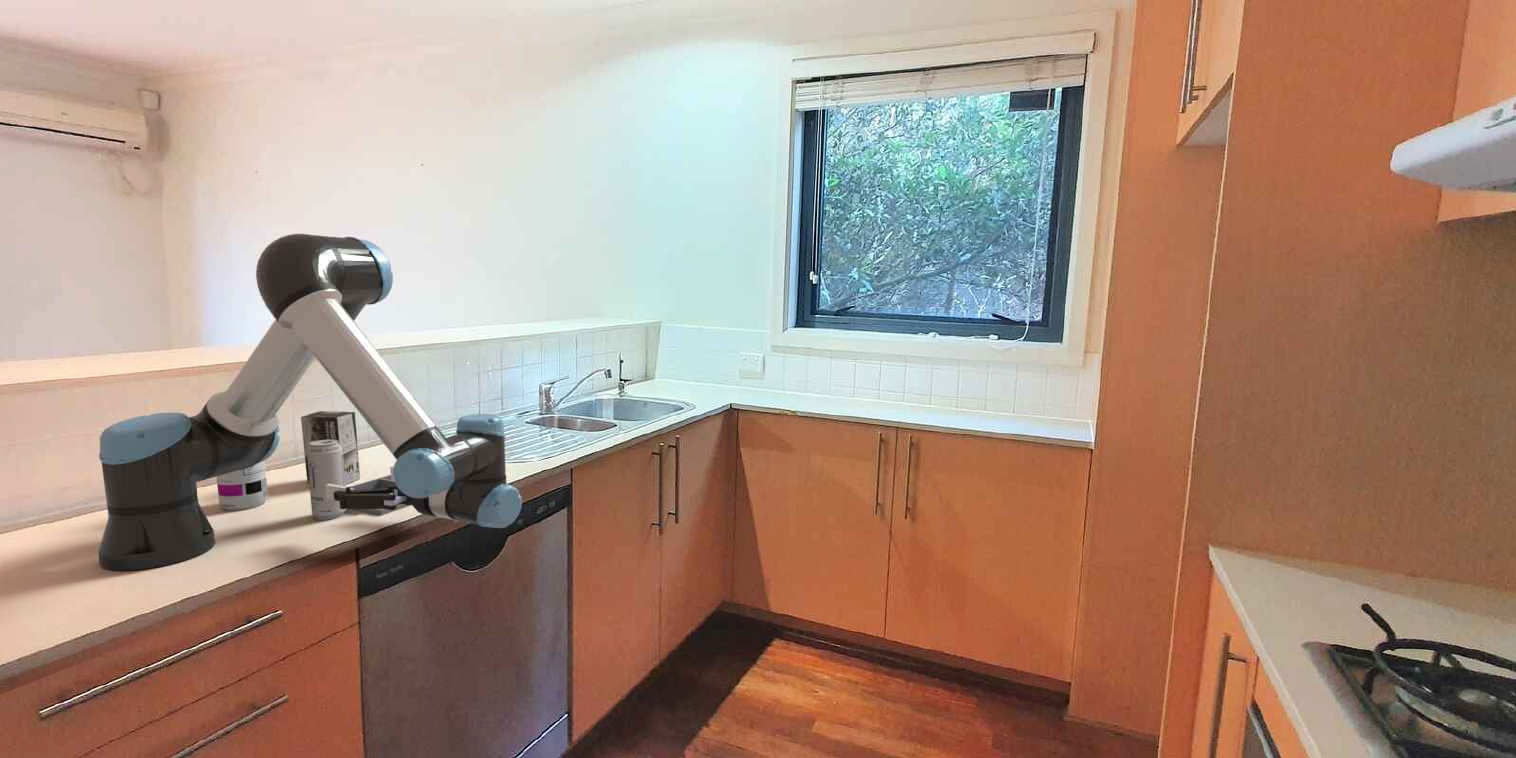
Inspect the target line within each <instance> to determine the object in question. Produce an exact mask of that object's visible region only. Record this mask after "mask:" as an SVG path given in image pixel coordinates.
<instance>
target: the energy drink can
mask: <svg viewBox="0 0 1516 758" xmlns="http://www.w3.org/2000/svg"><path fill="white" fill-rule="evenodd" d="M307 460H308V472H309V484H310V485H309V494H310V505H311V506H310V507H311V515H312V516H315V519H316V520H320V521H321V520H323V521H326V520H333V519H337V518H340V517H343V516H344V515H345V512H346V511H347V510H348V509H340V502H339V501H334V500H329V499H327V497H326V485H327V484H334V485H339V486H345V487H346V485H345V474H344V461H343V449H342V447H341V446H340V445H339V443H338V440H319V441H314V442H311V443H310V447H309V449H308V451H307Z"/></svg>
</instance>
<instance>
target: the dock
mask: <svg viewBox="0 0 1516 758" xmlns="http://www.w3.org/2000/svg"><path fill="white" fill-rule="evenodd" d="M395 482H396V481H395V480H391V474H389V475H385V476H382V477H379V478H375V479H372V480H368V481H365V482H361V483H358V484H357V483H356V484H354V485H351V486H349V487H350V488H354V490H366V489H380V488H389V487H390V486H391V485H396V483H395ZM397 490H398V489H394V495H396V497H397V496H398V494H397ZM409 506H411V505H405V504H399V505H396V509H394V510H388V509H352V510H355V511H359V512H365V513H369V514H373V515H378V516H384V515H386V514H389V513H391V512H395V511H398V510H400V509H403V508H407V507H409Z"/></svg>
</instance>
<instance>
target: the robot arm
mask: <svg viewBox="0 0 1516 758" xmlns="http://www.w3.org/2000/svg"><path fill="white" fill-rule="evenodd" d="M255 277H256V279H255V280H256V285H257V289H258V291H259V296H260V297H261V299H262V300H263V302H264V305H265V306H266V308H267V310H268V311H269V312H270V313H271V315H272V317H273V318H274V319H275V320H274V321H273V323H272V324H271V325H270V327H269V328H268V330H267V332H266V333H265V334H264V336H263V337H262V339H260V341H259V342H258V344H257V345H256V347H255V348H254V350H253V352H252V353H251V354H250V356H249V357H248V359H247V361H246V362H245V364H244V365H243V366H242V368H241V369H240V371H239V372H238V373H237V375H236V377H235V378H234V379H233V381H232V382H231V384H230V385H229V387H227V388H228V389H227V390H226V391H221V392H220V391H219V392H217V393H214V394H213V395H211V396H210V397H209V398H208V400H207V402H206V403H205V405H204V406H203V407H202V409H201V410H200V412H199V413H197V414H196V415H193V416H188V415H187V414H185V413H182V412H159V413H154V414H153V413H152V414H150V415H141V416H135V417H132V418H128V419H125V420H121V421H118V422H117V423H113V424H112V425H110V426H108V427H107V428H105V429H104V430H103V431H102V433H101V435H100V437H99V454H98V459H99V461H100V462H101V467H102V469H101V470H102V476H103V484H104V492H105V500H106V506H107V507H106V508H107V515H108V516H107V517H108V518H107V521H106V525H105V529H104V532H103V535H102V538H101V540H100V545H99V548H98V553H97V554H98V563H99V566H100V568H102V569H106V570H108V571H109V570H111V571H135V570H136V571H137V570H145V569H152V568H158V567H162V566H167V565H171V564H176V563H180V562H183V561H186V560H189V559H192V558H195V557H198V556H199V555H202V554H204V553H206V552H208V551H209V550H210V549H211V550H212V549H213V548H214V546H215V544H216V536H215V531H214V528H213V527H212V525H211V523H210V521H209V520H208V517H207V516H206V514H205V512H204V511H203V509H202V506H201V505H200V503H199V498H198V487H197V483H199V482H202V481H206V480H209V479H212V478H217V477H216V476H220V475H223V474H227V473H230V472H234V471H238V470H243V469H247V468H250V467H252V466H254V465H255V464H258V463H261V462H263V461H264V460H265V461H266V460H267V459H269V458H270V457H271V456H272V455H273V454H274V453H275V451H276V449H277V447H278V445H279V441H280V435H278V433H280V432H281V431H280V425H279V421H280V420H279V417H278V415H277V413H278V411H279V410H280V409H281V407H282V406H283V405H284V403H285V401H286V400H287V399H288V397H289V396H290V395H291V393H292V392H293V390H294V389H295V388H296V386H297V385H298V383H300V380H301V379H302V378H303V376H304V375H305V374H306V373H307V371H308V369H309V368H310V366H311V365H312V364H313V363H314V361H315V360H317V361H318V363H319V364H320V365H321V366H322V367H323V370H325V371H326V373H327V374H328V375H329V376H330V378H331V379H332V380H333V381H334V383H335V384H336V385H337V386H338V388H339V389H340V390H341V391H342V392H343V394H344V395H345V397H346V398H347V399H348V400H349V402H350V403H351V404H352V405H353V407H354V408H355V409H356V410H357V411H358V413H359V414H360V415H361V416H362V418H363V419H364V420H365V421H366V424H367V425H369V427H370V428H371V429H372V431H373V432H374V433H375V434H376V435H377V437H378V438H379V439H380V441H381V442H382V443H383V444H384V446H385V447H386V448H387V449H388V451H389V452H390V453H391V455H393V457H394V458H395V459H396V461H395V463H394V464H393V465H392V466H390V475H391V480H395V481H396V482H395V483H396V485H391V486H390V487H389V488H380V489H366V490H354V488H350V486H346V485H345V486H339V485H334V484H327V485H326V497H327V499H329V500H334V501H339V502H340V509H347V510H353V509H388V510H394V509H396V505H399V504H405V505H410V506H412V507H413V508H414V509H415V511H416V512H418V513H419V514H421V515H425V516H429V517H430V516H431V517H438V518H442V519H446V520H447V519H448V520H451V521H453V522H454V523H458V522H463V523H468V524H472V525H477V526H480V527H482V528H493V529H494V528H495V529H497V528H498V529H503V528H507V527H509V526H510V525H512V524H513V523H514V522H515V521H516V519H517V518H518V516H519V515H520V513H521V509H522V503H523V502H522V496H521V494H520V492H519V490H518V489H517V488H516V487H515V486H514V485H511V484H508V483H507V482H508V481H507V475H506V440H505V439H506V435H505V431H504V430H505V429H504V420H503V419H502V417H500V416H499V415H497V414H492V413H477V414H476V413H475V414H474V413H473V414H469V415H468V414H466V415H464V416H461V417H459V418H458V421H457V422H456V430H455V433H456V434H453V435H451V436H449V437H446V436H445V435H444V433H443V432H442V431H441V429H439V427H438V426H437V425H436V423H434V421H433V420H432V418H431V417H430V416H429V415H428V414H427V412H426V411H425V409H423V407H422V406H421V404H420V403H419V402H418V401H417V399H416V398H415V397H414V395H412V393H411V392H410V390H409V389H408V388H407V387H406V385H405V384H404V383H403V382H402V381H401V379H400V378H399V377H398V375H397V374H396V373H395V371H394V370H393V369H392V368H391V366H390V365H389V364H388V363H387V361H386V360H385V359H384V358H383V356H382V355H381V354H380V352H379V350H377V349H376V348H375V346H374V345H373V343H372V342H371V341H370V339H368V337H367V336H366V335H365V333H364V332H363V331H362V330H361V328H360V327H359V326H358V325H357V323H356V322H355V320H356V319H357V317H358V316H359V315H360V313H361V312H362V311H363V309H364V308H365V306H366V305H369V306H370V305H376V304H377V303H381V302H382V301H383V300H384V299H386V298H387V296H388V295H389V294H390V292H391V290H392V287H393V282H394V274H393V272H392V265H391V262H390V260H389V258H388V256H387V255H386V253H385V252H384V251H383V249H381V247H379V246H378V244H376V243H375V244H374V243H373V242H372V241H370V240H365V239H361V238H356V237H353V236H345V237H340V236H339V237H338V236H328V235H315V234H307V233H306V234H305V233H293V234H288V235H287V234H286V235H284V236H281V237H279V238H277V239H275V240H273V241H272V242H270V243H269V244H268V245H267V246H266V247H265V248H264V250H263V251H262V252H261V254H260V256H259V259H258V260H257V265H256V269H255ZM394 489H398V490H397V494H398V496H397V497H396V495H394Z"/></svg>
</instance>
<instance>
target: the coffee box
mask: <svg viewBox="0 0 1516 758" xmlns="http://www.w3.org/2000/svg"><path fill="white" fill-rule="evenodd" d="M300 421H301V433H302V441H303V453H304V462H305V471H306V474H305V475H306V484H307V485H309V486H310V484H309V472H308V460H307V451H308V449H309V447H310V443H311V442H314V441H319V440H338V443H339V445H340V446H341V447H342V449H343V461H344V474H345V486H346V485H348V484H351V483H353V482H355V481H358V480H360V479H361V475H360V463H359V461H360V459H359V448H358V436H357V435H358V434H357V425H356V424H357V422H356V421H357V420H356V412H355V411H331V410H330V411H329V410H327V411H322V410H320V411H317V412H316V411H315V412H312V413H309V414H307V415H302V416H301V417H300Z"/></svg>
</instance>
